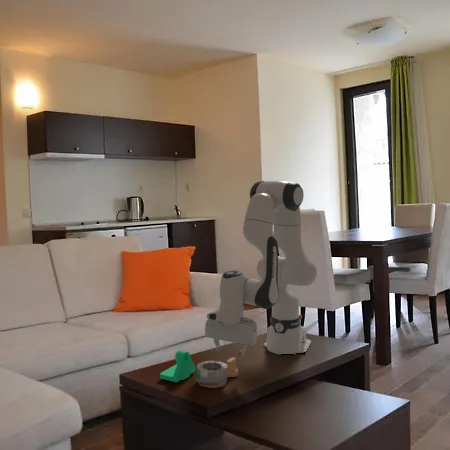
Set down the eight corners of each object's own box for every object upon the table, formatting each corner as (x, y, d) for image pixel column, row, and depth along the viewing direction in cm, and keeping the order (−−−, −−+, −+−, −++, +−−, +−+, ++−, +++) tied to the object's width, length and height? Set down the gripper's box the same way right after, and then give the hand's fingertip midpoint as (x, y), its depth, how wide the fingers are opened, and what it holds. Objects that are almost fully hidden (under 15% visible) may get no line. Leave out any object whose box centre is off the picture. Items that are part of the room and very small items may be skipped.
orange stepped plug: (228, 371, 204) (228, 356, 203) (240, 374, 201) (240, 358, 201) (221, 376, 200) (221, 360, 199) (233, 379, 197) (234, 363, 196)
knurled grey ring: (207, 374, 201) (207, 358, 200) (232, 380, 195) (232, 364, 195) (191, 384, 192) (191, 368, 191) (217, 391, 186) (217, 374, 186)
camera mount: (178, 369, 206) (178, 343, 204) (195, 373, 202) (195, 347, 200) (159, 380, 195) (158, 353, 194) (176, 385, 191) (176, 357, 190)
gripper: (260, 318, 195) (259, 355, 196) (211, 310, 205) (211, 345, 207) (252, 322, 190) (251, 360, 191) (203, 313, 200) (202, 350, 201)
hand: (230, 352), depth 199 cm, fingers open, 8 cm apart
